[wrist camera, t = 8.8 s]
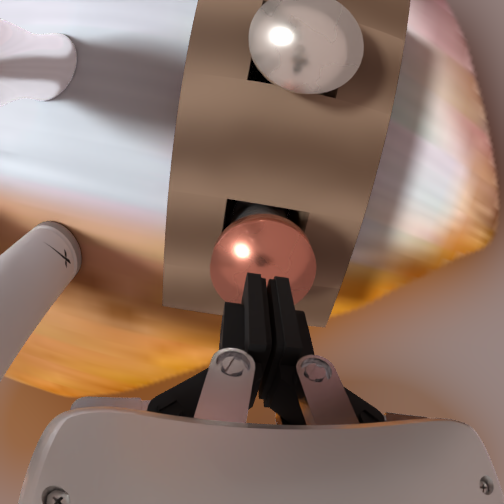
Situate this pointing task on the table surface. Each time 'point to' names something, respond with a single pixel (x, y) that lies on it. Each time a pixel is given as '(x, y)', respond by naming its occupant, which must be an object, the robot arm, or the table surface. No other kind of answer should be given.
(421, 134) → the table surface
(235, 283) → the plug terracotta
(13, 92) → the beer glass
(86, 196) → the table surface
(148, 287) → the table surface
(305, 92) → the plug cream
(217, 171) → the socket board
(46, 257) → the travel mug
